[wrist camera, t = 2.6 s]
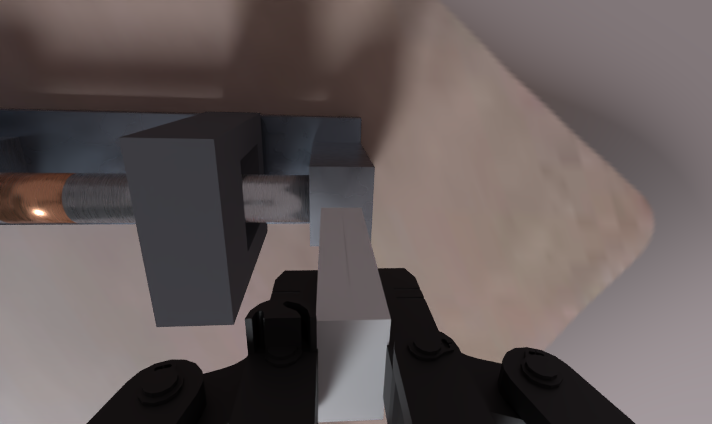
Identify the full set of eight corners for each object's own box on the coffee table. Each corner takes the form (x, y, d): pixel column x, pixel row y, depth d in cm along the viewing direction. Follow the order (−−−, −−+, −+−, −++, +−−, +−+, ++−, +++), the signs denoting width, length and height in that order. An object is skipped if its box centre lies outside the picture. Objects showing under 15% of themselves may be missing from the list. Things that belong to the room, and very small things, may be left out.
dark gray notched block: (220, 231, 23) (156, 326, 14) (207, 111, 20) (118, 137, 12) (267, 231, 23) (233, 324, 15) (260, 112, 21) (213, 139, 12)
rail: (3, 220, 23) (-133, 280, 16) (-35, 107, 21) (-214, 122, 14) (356, 218, 25) (369, 271, 18) (360, 117, 23) (376, 134, 16)
